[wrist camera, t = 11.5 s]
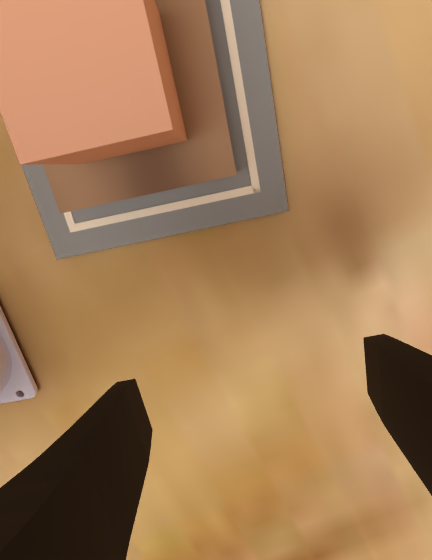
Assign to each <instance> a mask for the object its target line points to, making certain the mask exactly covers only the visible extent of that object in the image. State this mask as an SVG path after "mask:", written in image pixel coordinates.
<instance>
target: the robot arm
mask: <svg viewBox="0 0 432 560" xmlns="http://www.w3.org/2000/svg"><path fill="white" fill-rule="evenodd" d="M364 351H365V364H366V377H367V390H368V395H369V397H370V399H371V401H372V403H373V405H374V407H375V409H376V411H377V413H378V415H379V417H380V418H381V420H382V422H383V424H384V426H385V427H386V429H387V430H388V432H389V433H390V435H391V436H392V438H393V439H394V441H395V442H396V444H397V445H398V447H399V448H400V450H401V451H402V452H403V454H404V455H405V457H406V458H407V460H408V461H409V463H410V464H411V466H412V467H413V469H414V470H415V472H416V473H417V475H418V476H419V478H420V479H421V480H422V482H423V483H424V485H425V486H426V488H427V489H428V491H429V492H430V494H431V495H432V355H430V354H427V353H425V352H423V351H421V350H419V349H417V348H415V347H412V346H410V345H408V344H406V343H404V342H402V341H399V340H397V339H395V338H393V337H390V336H388V335H385V334H381V335H376V336H370V337H364ZM20 391H22V392H23V393H21V392H20ZM37 392H38V388H37V386H36V384H35V381H34V379H33V377H32V375H31V373H30V370H29V368H28V366H27V364H26V362H25V359H24V357H23V355H22V353H21V350H20V348H19V346H18V344H17V342H16V339H15V337H14V335H13V333H12V331H11V328H10V326H9V324H8V322H7V320H6V317H5V315H4V313H3V311H2V308H1V306H0V404H3V403H8V402H14V401H19V400H25V399H31V398H33V397H34V396H35V395H36V394H37ZM151 439H152V427H151V424H150V421H149V418H148V415H147V412H146V409H145V406H144V403H143V400H142V397H141V394H140V391H139V388H138V385H137V382H136V380H135V379H132V380H126V381H121V382H117V383H115V384H114V385H113V386H112V387H111V388H110V389H109V390H108V391H107V392H106V393H105V394H104V395H103V396H102V397H101V398H100V399H99V400H98V401H97V402H96V403H95V404H94V405H93V406H92V407H91V408H90V409H89V410H88V411H87V412H86V413H85V414H84V415H83V416H82V417H80V418H79V419H78V420H77V421H76V422H75V423H74V424H73V425H72V426H71V427H70V428H69V429H68V430H67V431H66V432H65V433H64V434H63V435H62V436H61V437H60V438H59V439H57V440H56V441H55V442H54V443H53V444H52V445H51V446H50V447H49V448H48V449H47V450H46V451H44V452H43V453H42V454H41V455H40V456H39V457H38V458H37V459H35V460H34V461H33V462H32V463H31V464H29V465H28V466H27V467H26V468H25V469H23V470H22V471H21V472H20V473H18V474H17V475H16V476H15V477H13V478H12V479H11V480H10V481H8V482H7V483H6V484H5V485H3V486H2V487H1V488H0V560H126V556H127V551H128V546H129V541H130V537H131V533H132V529H133V525H134V521H135V517H136V513H137V508H138V504H139V500H140V496H141V492H142V488H143V484H144V480H145V476H146V472H147V467H148V463H149V456H150V448H151Z"/></svg>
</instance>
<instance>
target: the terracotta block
mask: <svg viewBox="0 0 432 560" xmlns="http://www.w3.org/2000/svg"><path fill="white" fill-rule="evenodd" d="M0 112H1V115H2V117H3V120H4V123H5V125H6V128H7V131H8V133H9V136H10V139H11V141H12V144H13V147H14V149H15V152H16V155H17V157H18V160H19V163H20V165H32V164H87V163H91V162H95V161H100V160H104V159H109V158H113V157H117V156H122V155H126V154H131V153H135V152H140V151H144V150H148V149H153V148H157V147H162V146H166V145H170V144H175V143H179V142H184V141H187V136H186V131H185V127H184V122H183V118H182V113H181V109H180V104H179V99H178V95H177V90H176V86H175V81H174V77H173V72H172V67H171V63H170V58H169V54H168V49H167V45H166V40H165V35H164V31H163V26H162V22H161V17H160V13H159V10H158V8H157V5H156V3H155V0H0Z"/></svg>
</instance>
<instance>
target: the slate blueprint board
mask: <svg viewBox="0 0 432 560" xmlns="http://www.w3.org/2000/svg"><path fill="white" fill-rule="evenodd" d="M205 3H206V8H207V14H208V19H209V25H210V30H211V36H212V41H213V47H214V52H215V58H216V63H217V69H218V74H219V80H220V85H221V91H222V96H223V102H224V107H225V113H226V118H227V124H228V129H229V135H230V140H231V146H232V151H233V157H234V162H235V168H236V173H237V175H235V176H230V177H226V178H221V179H216V180H212V181H207V182H203V183H198V184H194V185H189V186H184V187H180V188H175V189H171V190H166V191H162V192H157V193H152V194H148V195H143V196H139V197H134V198H130V199H125V200H120V201H116V202H111V203H107V204H102V205H98V206H93V207H88V208H84V209H79V210H75V211H70V212H65V213H61V214H60V212H59V209H58V206H57V203H56V201H55V198H54V195H53V192H52V189H51V186H50V184H49V181H48V178H47V175H46V172H45V170H44V167H43V164H32V165H22V168H23V171H24V173H25V176H26V179H27V181H28V184H29V187H30V189H31V192H32V195H33V197H34V200H35V203H36V205H37V208H38V211H39V213H40V216H41V219H42V221H43V224H44V227H45V229H46V232H47V235H48V237H49V240H50V243H51V245H52V248H53V251H54V253H55V256H56V259H62V258H67V257H72V256H77V255H81V254H86V253H91V252H96V251H101V250H105V249H110V248H115V247H120V246H125V245H129V244H134V243H139V242H144V241H148V240H153V239H158V238H163V237H168V236H172V235H177V234H182V233H187V232H192V231H196V230H201V229H206V228H211V227H215V226H220V225H225V224H230V223H235V222H239V221H244V220H249V219H254V218H259V217H263V216H268V215H273V214H278V213H282V212H287V211H289V210H288V203H287V195H286V188H285V181H284V174H283V167H282V159H281V152H280V145H279V138H278V131H277V123H276V116H275V109H274V102H273V95H272V87H271V80H270V73H269V66H268V58H267V51H266V44H265V37H264V30H263V22H262V15H261V8H260V1H259V0H205Z"/></svg>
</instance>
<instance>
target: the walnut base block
mask: <svg viewBox="0 0 432 560" xmlns="http://www.w3.org/2000/svg"><path fill="white" fill-rule="evenodd" d="M155 3H156V5H157V8H158V10H159V13H160V17H161V22H162V26H163V31H164V35H165V40H166V45H167V49H168V54H169V58H170V63H171V67H172V72H173V77H174V81H175V86H176V90H177V95H178V99H179V104H180V109H181V113H182V118H183V122H184V127H185V131H186V136H187V141H184V142H179V143H175V144H170V145H166V146H162V147H157V148H153V149H148V150H144V151H140V152H135V153H131V154H126V155H122V156H117V157H113V158H109V159H104V160H100V161H95V162H91V163H87V164H43V167H44V170H45V172H46V175H47V178H48V181H49V184H50V186H51V189H52V192H53V195H54V198H55V201H56V203H57V206H58V209H59V212H60V214H61V213H65V212H70V211H75V210H79V209H84V208H88V207H93V206H98V205H102V204H107V203H111V202H116V201H120V200H125V199H130V198H134V197H139V196H143V195H148V194H152V193H157V192H162V191H166V190H171V189H175V188H180V187H184V186H189V185H194V184H198V183H203V182H207V181H212V180H216V179H221V178H226V177H230V176H235V175H237V173H236V168H235V162H234V157H233V151H232V146H231V140H230V135H229V129H228V124H227V118H226V113H225V107H224V102H223V96H222V91H221V85H220V80H219V74H218V69H217V63H216V58H215V52H214V47H213V41H212V36H211V30H210V25H209V19H208V14H207V8H206V3H205V0H155Z"/></svg>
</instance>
